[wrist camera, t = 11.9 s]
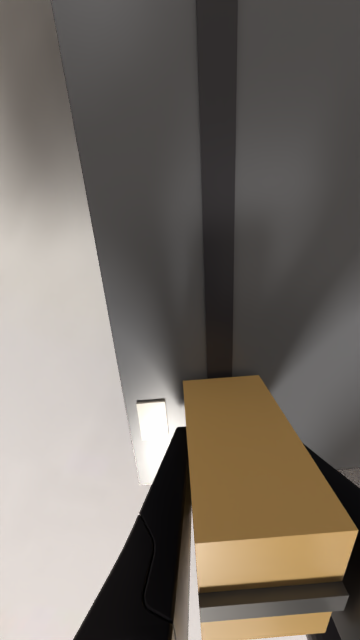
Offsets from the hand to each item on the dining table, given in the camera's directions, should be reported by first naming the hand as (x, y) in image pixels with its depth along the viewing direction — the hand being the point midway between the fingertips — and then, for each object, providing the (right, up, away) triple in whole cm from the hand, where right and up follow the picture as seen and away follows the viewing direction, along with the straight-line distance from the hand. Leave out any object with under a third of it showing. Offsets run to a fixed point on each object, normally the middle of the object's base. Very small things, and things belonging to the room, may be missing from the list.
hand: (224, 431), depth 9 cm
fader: (0, 0, +1) cm, 1 cm away
